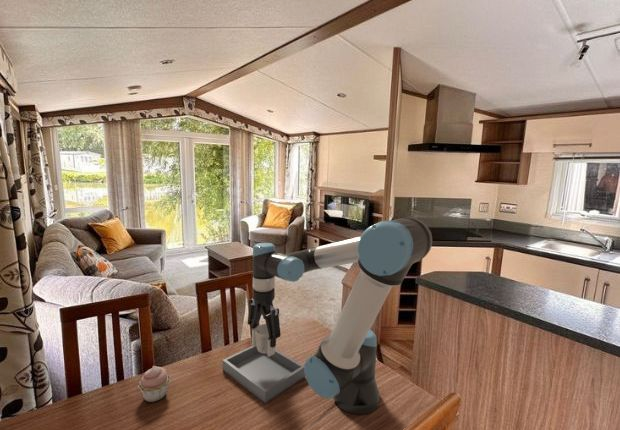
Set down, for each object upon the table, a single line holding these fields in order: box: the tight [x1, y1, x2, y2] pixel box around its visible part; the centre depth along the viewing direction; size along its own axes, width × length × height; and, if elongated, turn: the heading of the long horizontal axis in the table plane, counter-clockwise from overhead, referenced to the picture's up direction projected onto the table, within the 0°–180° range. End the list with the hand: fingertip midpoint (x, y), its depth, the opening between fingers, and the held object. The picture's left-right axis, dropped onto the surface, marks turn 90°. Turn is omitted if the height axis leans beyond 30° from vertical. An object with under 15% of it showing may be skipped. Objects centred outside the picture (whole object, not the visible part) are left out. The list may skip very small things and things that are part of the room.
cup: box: [255, 323, 269, 354], centre depth 110 cm, size 11×8×8 cm
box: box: [222, 345, 306, 404], centre depth 112 cm, size 24×18×4 cm
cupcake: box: [137, 365, 172, 403], centre depth 99 cm, size 9×9×10 cm
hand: (263, 349), depth 111 cm, fingers closed on cup, 8 cm apart
